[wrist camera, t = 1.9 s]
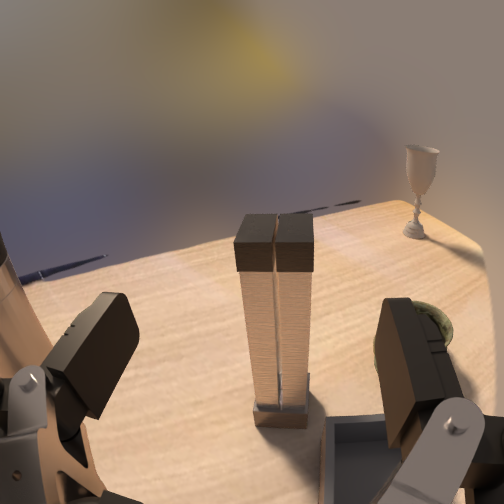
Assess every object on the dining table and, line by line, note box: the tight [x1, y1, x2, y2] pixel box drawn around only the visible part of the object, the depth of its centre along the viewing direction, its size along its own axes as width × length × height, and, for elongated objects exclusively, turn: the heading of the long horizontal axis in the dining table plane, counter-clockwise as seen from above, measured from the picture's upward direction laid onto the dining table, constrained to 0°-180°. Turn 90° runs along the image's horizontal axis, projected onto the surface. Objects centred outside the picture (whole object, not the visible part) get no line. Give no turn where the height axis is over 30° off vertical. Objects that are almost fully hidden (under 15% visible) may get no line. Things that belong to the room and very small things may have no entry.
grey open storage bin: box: [318, 414, 402, 504], centre depth 19 cm, size 9×9×5 cm
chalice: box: [403, 145, 439, 239], centre depth 56 cm, size 7×7×18 cm
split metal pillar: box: [233, 214, 314, 429], centre depth 25 cm, size 5×5×20 cm
